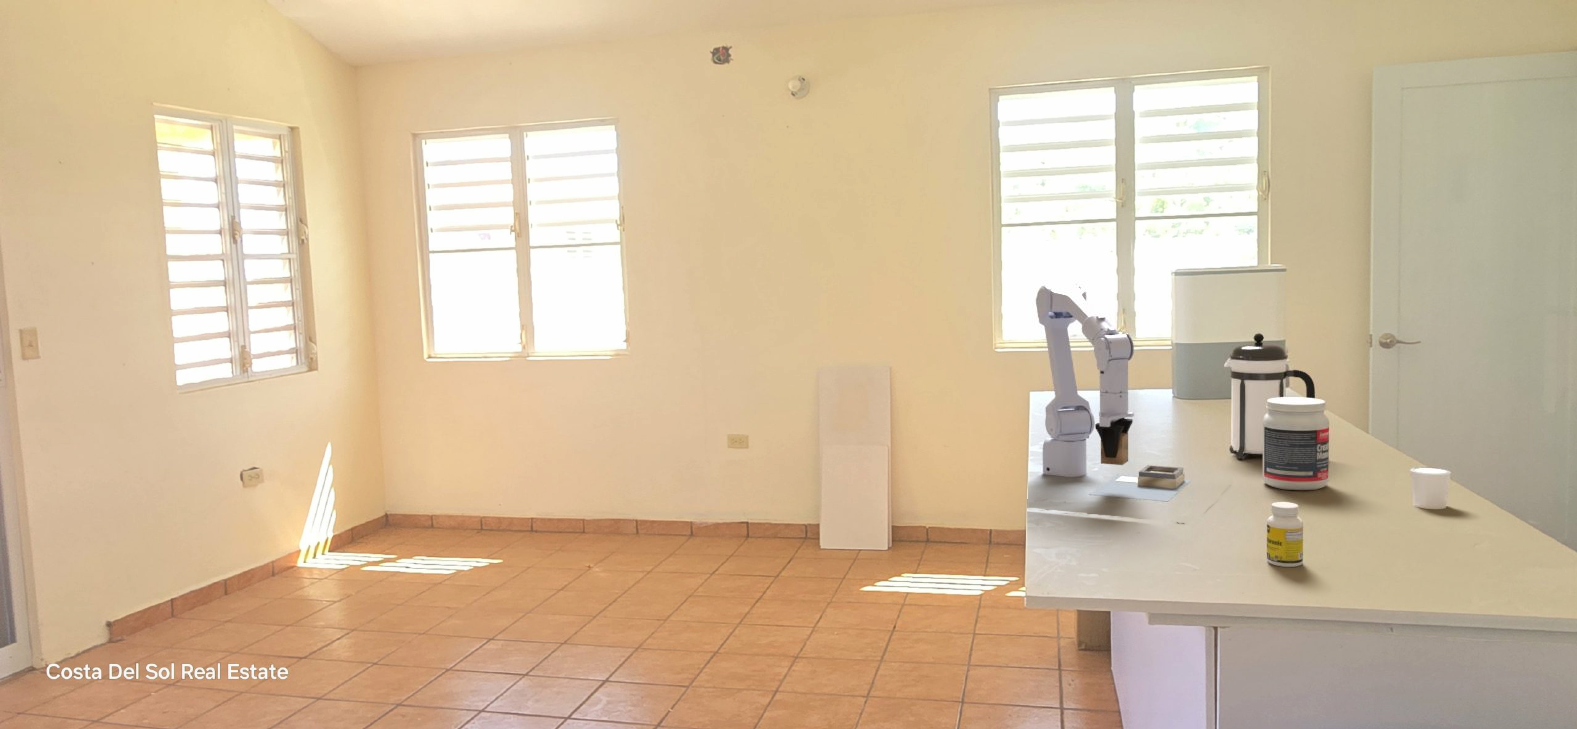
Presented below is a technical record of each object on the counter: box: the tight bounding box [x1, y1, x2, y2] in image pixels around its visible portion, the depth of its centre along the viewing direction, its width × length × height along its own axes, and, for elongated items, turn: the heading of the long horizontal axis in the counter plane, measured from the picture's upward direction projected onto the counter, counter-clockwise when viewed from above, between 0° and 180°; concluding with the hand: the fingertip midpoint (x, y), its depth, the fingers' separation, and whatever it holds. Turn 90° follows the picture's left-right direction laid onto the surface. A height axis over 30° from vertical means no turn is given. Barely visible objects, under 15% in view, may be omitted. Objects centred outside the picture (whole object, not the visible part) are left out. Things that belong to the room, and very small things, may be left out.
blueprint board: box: [1088, 464, 1192, 502], centre depth 230 cm, size 16×22×4 cm
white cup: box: [1409, 466, 1452, 510], centre depth 209 cm, size 7×7×7 cm
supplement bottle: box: [1266, 501, 1304, 568], centre depth 176 cm, size 5×5×10 cm
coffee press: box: [1223, 332, 1316, 461], centre depth 260 cm, size 17×16×30 cm
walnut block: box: [1100, 432, 1129, 466], centre depth 227 cm, size 4×4×6 cm
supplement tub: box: [1262, 396, 1330, 491], centre depth 229 cm, size 13×13×18 cm
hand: (1114, 455), depth 227 cm, fingers closed on walnut block, 4 cm apart
